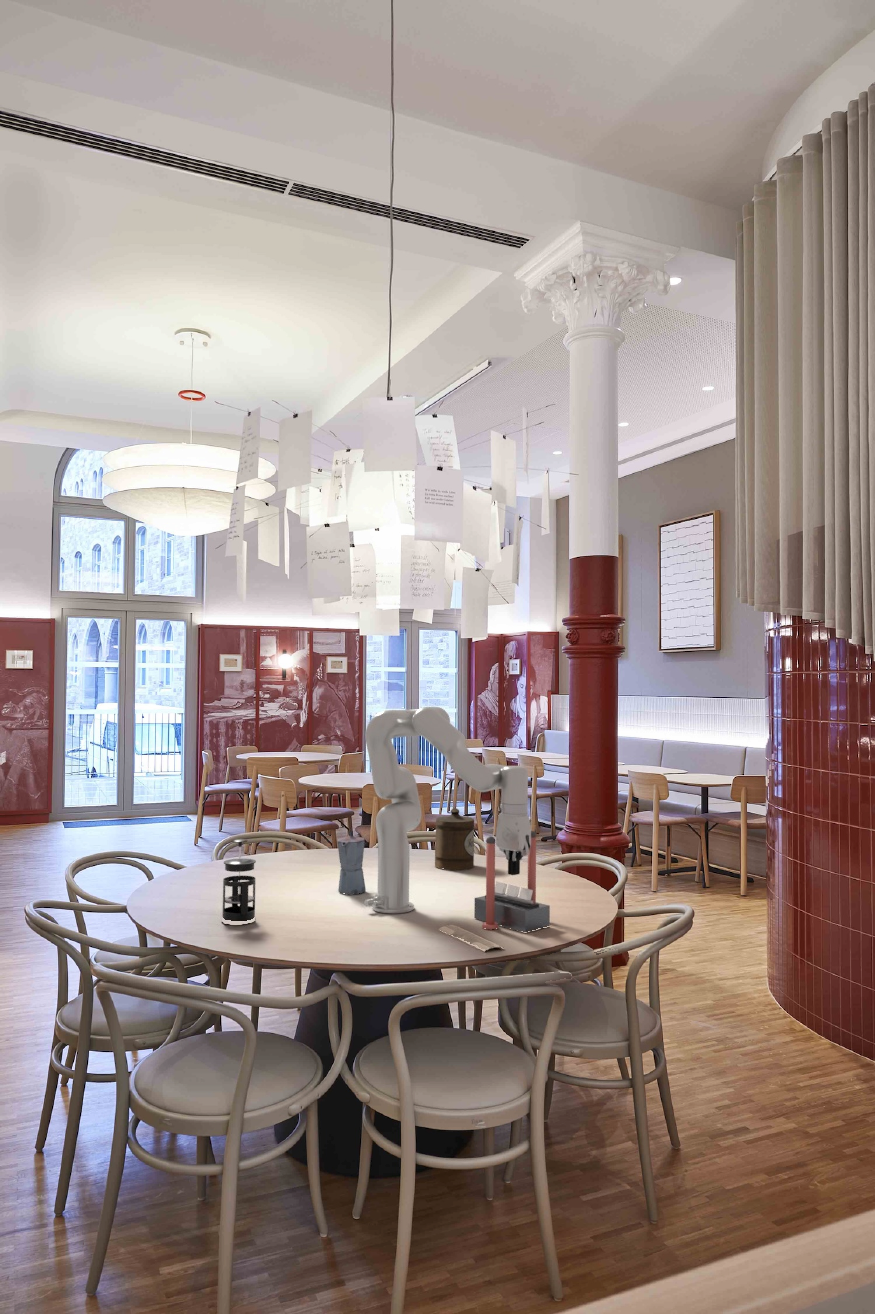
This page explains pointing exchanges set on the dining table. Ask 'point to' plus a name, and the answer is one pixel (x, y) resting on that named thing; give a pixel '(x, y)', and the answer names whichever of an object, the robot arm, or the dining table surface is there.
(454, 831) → the wooden container
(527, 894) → the breaker paddles
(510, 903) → the box
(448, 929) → the beige flat board
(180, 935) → the dining table surface
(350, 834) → the moka pot
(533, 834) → the far post
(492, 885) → the near post
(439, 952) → the dining table surface
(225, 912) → the french press
